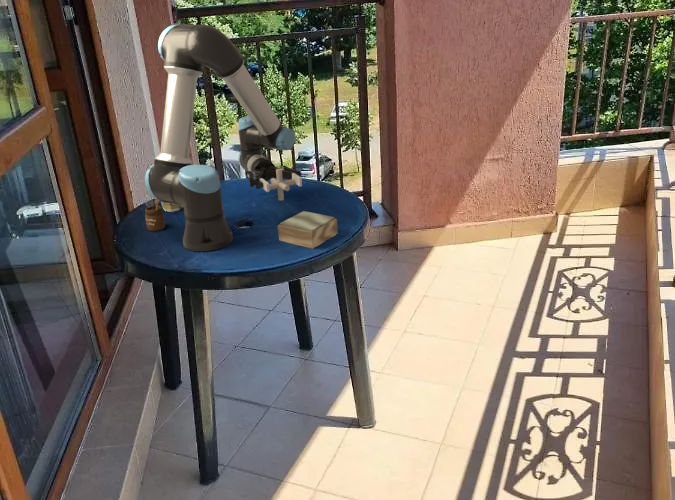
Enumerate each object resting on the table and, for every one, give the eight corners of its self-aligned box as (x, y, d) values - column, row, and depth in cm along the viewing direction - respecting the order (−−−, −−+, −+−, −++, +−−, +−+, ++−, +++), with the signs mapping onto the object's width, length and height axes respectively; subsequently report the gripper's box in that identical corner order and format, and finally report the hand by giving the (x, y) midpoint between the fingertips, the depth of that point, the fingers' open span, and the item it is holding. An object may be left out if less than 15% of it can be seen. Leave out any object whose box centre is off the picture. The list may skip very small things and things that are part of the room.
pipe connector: (274, 206, 199) (271, 175, 195) (260, 198, 207) (257, 168, 203) (302, 200, 203) (300, 170, 200) (287, 192, 211) (285, 163, 207)
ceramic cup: (153, 212, 225) (148, 185, 221) (168, 203, 234) (163, 176, 230) (186, 215, 222) (181, 187, 217) (199, 205, 230) (195, 178, 226)
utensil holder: (157, 223, 215) (151, 189, 211) (170, 226, 212) (164, 192, 207) (143, 229, 211) (137, 194, 206) (155, 232, 208) (149, 197, 203)
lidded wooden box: (312, 248, 190) (311, 231, 188) (279, 240, 197) (277, 223, 195) (337, 233, 200) (336, 217, 197) (304, 226, 207) (303, 210, 204)
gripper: (293, 173, 223) (318, 190, 205) (230, 184, 215) (250, 202, 196) (291, 152, 221) (317, 167, 202) (227, 162, 212) (248, 178, 193)
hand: (284, 184), depth 199 cm, fingers closed on pipe connector, 10 cm apart
